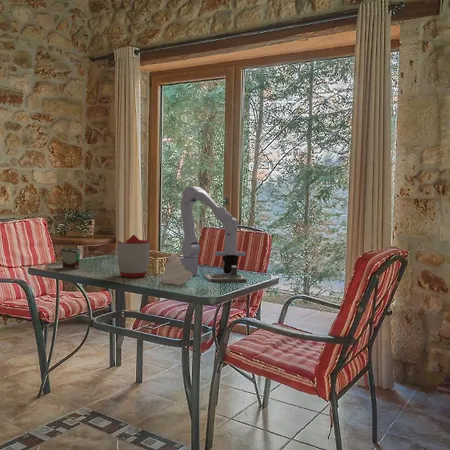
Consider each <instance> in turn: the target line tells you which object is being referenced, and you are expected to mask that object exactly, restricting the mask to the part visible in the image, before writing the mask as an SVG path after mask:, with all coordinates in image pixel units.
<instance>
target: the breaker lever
mask: <svg viewBox="0 0 450 450" xmlns="http://www.w3.org/2000/svg"><path fill="white" fill-rule="evenodd" d="M237 273H238V265H237V266H231V273H230V274H229V275H238V274H239V273H238V274H237Z"/></svg>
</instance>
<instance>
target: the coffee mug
mask: <svg viewBox="0 0 450 450" xmlns="http://www.w3.org/2000/svg"><path fill="white" fill-rule="evenodd" d="M227 255H234V254H227ZM239 257H240V256H235V260H234V262H233V264H232V266H237V267H238V262H239ZM222 264H223V265H222V266H223V273H231V271H228V263H227V260H226V258H225V256H222Z"/></svg>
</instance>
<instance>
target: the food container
mask: <svg viewBox="0 0 450 450" xmlns="http://www.w3.org/2000/svg"><path fill="white" fill-rule="evenodd" d="M60 252H61V260H62V261H61V262H62V268H64V269H69V270H78V269H80V256H81V254H82V250H81V248H77V247H66V248H65V247H64V248H63V247H62V248H61V250H60Z"/></svg>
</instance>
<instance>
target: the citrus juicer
mask: <svg viewBox="0 0 450 450" xmlns="http://www.w3.org/2000/svg"><path fill="white" fill-rule="evenodd" d="M150 242H151V241H150V240H145V239H139V237H137V235H135V234H133V235H131V237H129V238H128V239H126V242H122V241H120V240H117V247H116V251H117V266H118V267H117V268H118V269H119V272H118V273H119V274H120V276H121V277H123V276H124V277H125V278H131V279H136V278H141V277H145V276H146V275H147V272H148V268H149V266H150V265H149V264H150Z"/></svg>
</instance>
